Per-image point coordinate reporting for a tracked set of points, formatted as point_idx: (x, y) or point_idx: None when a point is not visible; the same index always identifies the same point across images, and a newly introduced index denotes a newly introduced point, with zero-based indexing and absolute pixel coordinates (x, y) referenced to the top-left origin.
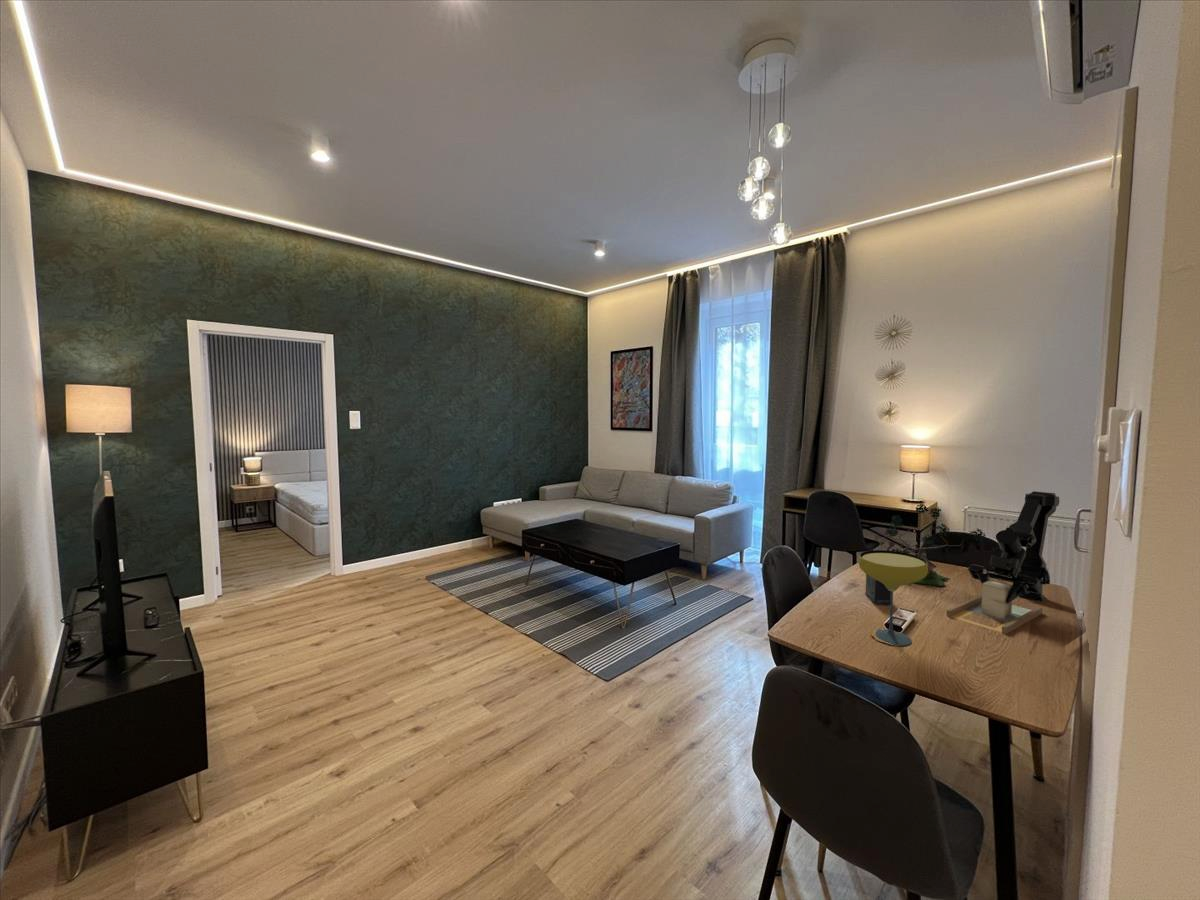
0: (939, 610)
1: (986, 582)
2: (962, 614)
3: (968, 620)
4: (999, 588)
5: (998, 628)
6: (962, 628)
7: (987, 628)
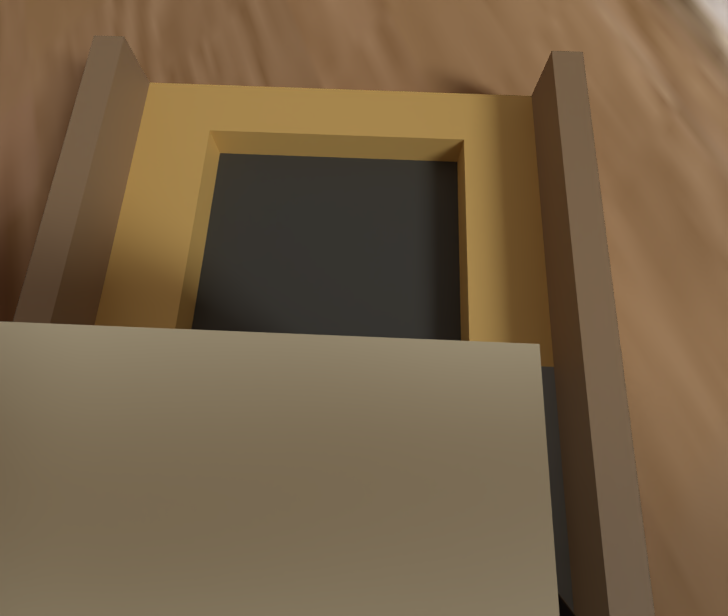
0: (708, 291)
1: (513, 596)
2: (502, 226)
3: (406, 131)
4: (51, 337)
5: (187, 146)
6: (401, 71)
7: (248, 86)
